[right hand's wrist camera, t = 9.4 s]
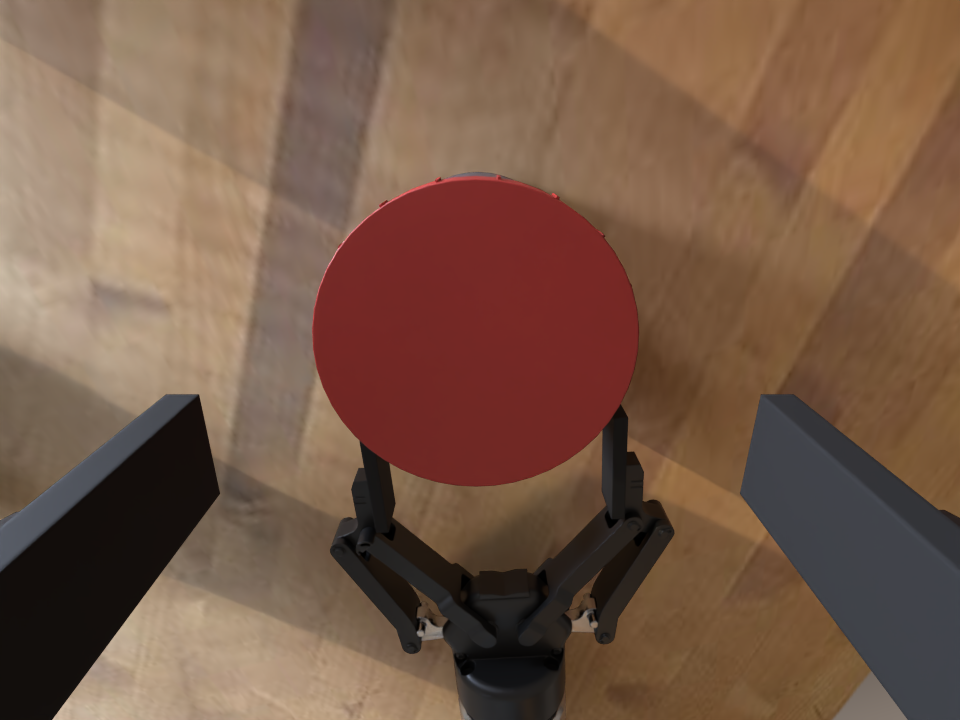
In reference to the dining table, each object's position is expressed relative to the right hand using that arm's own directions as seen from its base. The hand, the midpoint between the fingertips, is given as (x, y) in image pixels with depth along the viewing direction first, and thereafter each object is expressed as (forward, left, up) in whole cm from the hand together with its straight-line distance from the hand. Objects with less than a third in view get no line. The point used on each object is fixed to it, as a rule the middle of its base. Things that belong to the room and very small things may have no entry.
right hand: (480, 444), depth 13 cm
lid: (0, 0, -7) cm, 7 cm away
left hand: (+5, -6, -16) cm, 17 cm away
